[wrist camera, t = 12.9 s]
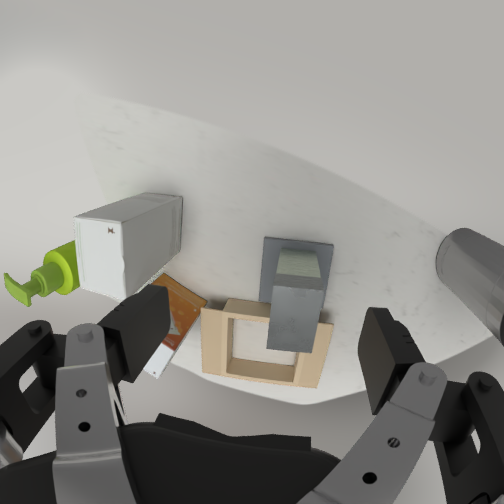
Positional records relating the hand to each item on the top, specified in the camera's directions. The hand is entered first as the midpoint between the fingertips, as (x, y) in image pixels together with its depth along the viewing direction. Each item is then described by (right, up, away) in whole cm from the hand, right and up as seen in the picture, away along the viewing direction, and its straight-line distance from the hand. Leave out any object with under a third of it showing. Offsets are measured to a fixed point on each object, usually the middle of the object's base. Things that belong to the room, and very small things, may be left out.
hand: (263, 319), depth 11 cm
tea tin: (+5, 0, +27) cm, 27 cm away
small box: (-12, -5, +32) cm, 34 cm away
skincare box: (-13, +7, +28) cm, 32 cm away
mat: (+5, 0, +27) cm, 28 cm away
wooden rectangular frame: (+2, -10, +31) cm, 33 cm away
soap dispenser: (-23, +4, +31) cm, 39 cm away
